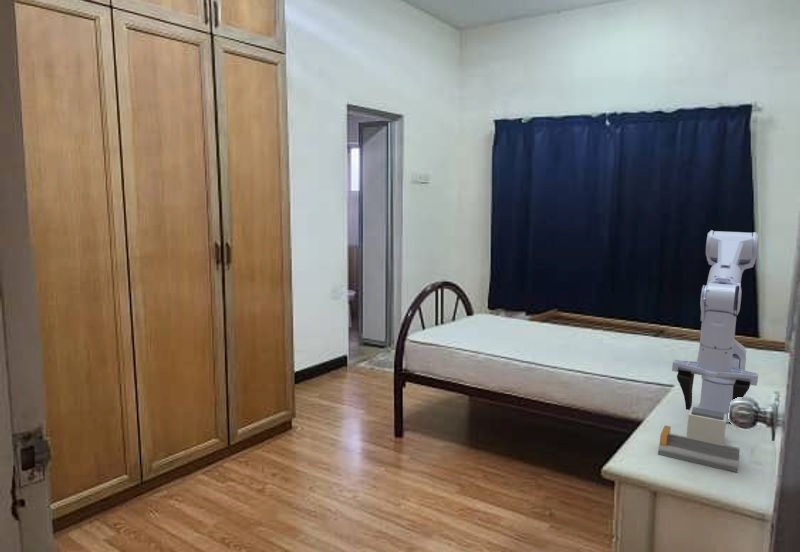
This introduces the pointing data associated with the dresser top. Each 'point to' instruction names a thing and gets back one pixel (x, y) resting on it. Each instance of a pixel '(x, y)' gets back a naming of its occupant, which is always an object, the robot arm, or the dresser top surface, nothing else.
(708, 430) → the block
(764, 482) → the dresser top surface
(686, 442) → the rail plate
